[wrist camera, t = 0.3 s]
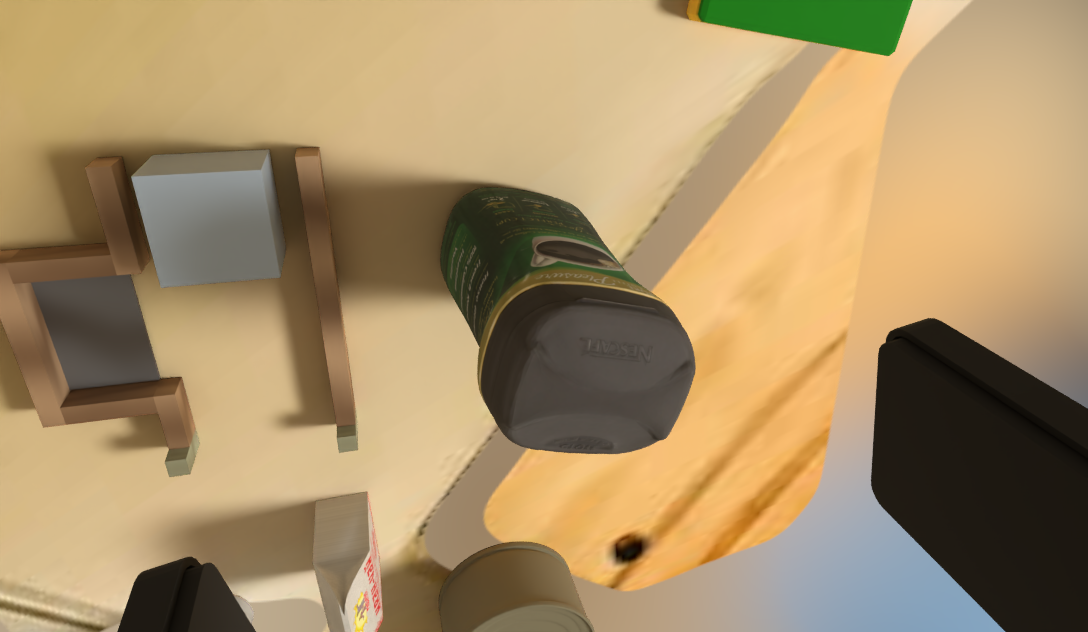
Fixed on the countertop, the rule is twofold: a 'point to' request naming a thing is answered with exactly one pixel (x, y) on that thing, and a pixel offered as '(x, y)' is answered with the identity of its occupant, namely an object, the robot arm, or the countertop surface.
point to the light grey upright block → (348, 563)
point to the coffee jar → (562, 327)
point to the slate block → (211, 217)
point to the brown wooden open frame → (137, 320)
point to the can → (512, 592)
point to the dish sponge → (813, 20)
